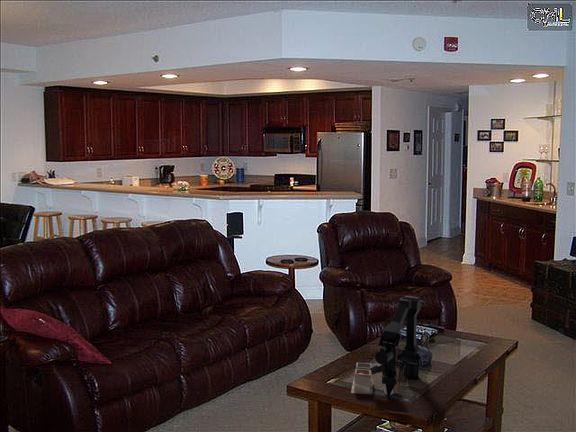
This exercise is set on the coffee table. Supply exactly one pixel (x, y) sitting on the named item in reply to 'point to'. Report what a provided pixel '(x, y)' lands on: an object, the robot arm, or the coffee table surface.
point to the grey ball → (386, 391)
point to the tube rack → (362, 379)
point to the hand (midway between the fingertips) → (388, 393)
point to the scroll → (399, 350)
